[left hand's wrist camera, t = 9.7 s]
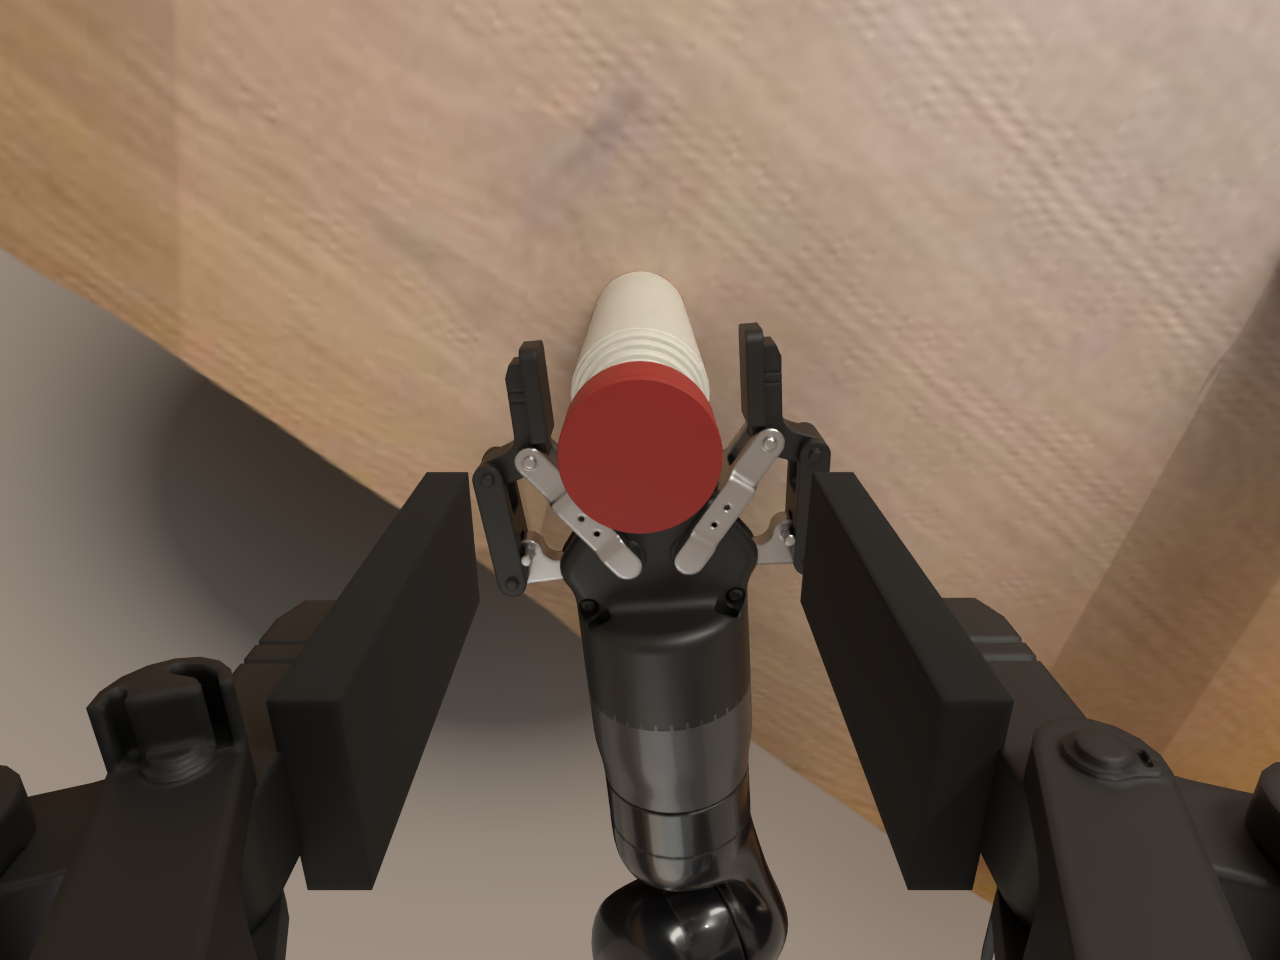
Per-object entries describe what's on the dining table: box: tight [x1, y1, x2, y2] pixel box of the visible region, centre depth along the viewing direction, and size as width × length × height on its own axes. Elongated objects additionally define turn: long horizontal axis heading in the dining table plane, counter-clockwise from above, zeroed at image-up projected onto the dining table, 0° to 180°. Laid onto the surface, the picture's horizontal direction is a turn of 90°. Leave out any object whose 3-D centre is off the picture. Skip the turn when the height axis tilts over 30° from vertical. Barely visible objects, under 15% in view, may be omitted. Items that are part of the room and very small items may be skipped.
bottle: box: [570, 272, 710, 402], centre depth 27 cm, size 4×4×19 cm
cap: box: [557, 361, 723, 534], centre depth 19 cm, size 4×4×2 cm
